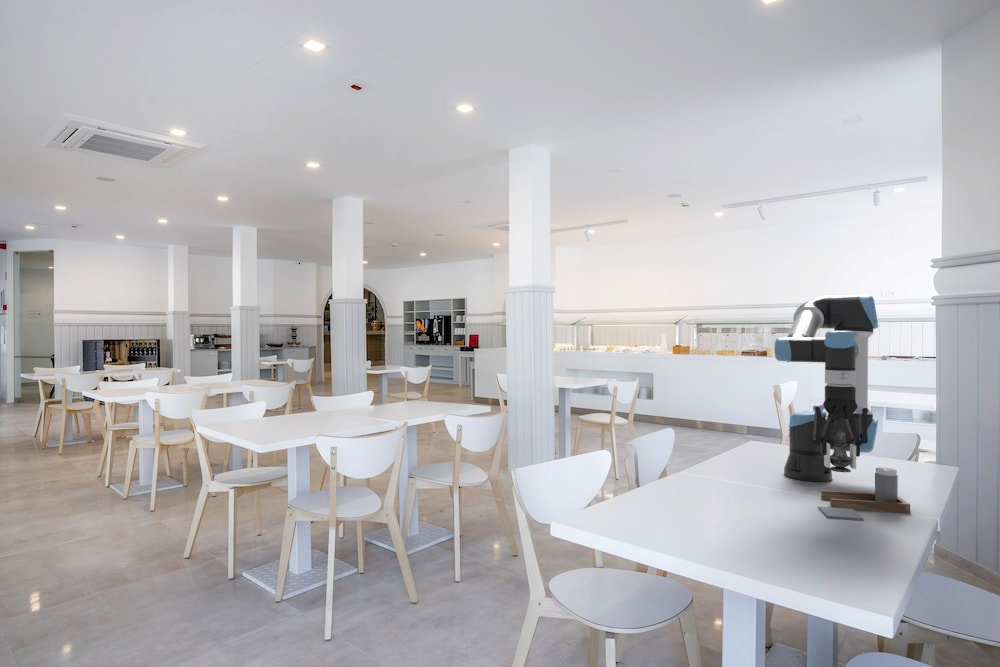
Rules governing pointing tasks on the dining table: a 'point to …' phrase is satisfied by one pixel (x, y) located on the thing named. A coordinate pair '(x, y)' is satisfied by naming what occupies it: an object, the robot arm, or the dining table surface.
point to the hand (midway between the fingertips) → (840, 467)
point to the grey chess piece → (840, 453)
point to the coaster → (840, 513)
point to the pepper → (886, 485)
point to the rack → (863, 502)
